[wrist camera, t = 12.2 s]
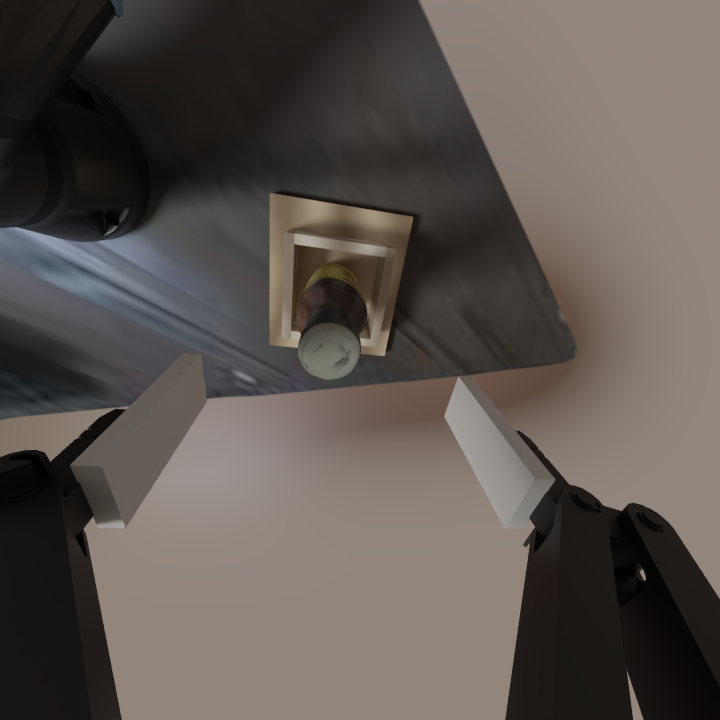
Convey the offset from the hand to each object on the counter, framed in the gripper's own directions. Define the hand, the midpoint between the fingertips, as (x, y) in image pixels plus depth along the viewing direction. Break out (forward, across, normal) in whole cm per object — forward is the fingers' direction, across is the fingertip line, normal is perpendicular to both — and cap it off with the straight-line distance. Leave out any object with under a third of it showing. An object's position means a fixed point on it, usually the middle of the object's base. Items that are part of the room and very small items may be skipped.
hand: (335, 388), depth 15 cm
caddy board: (+25, 0, 0) cm, 25 cm away
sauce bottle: (+24, 0, 0) cm, 24 cm away
